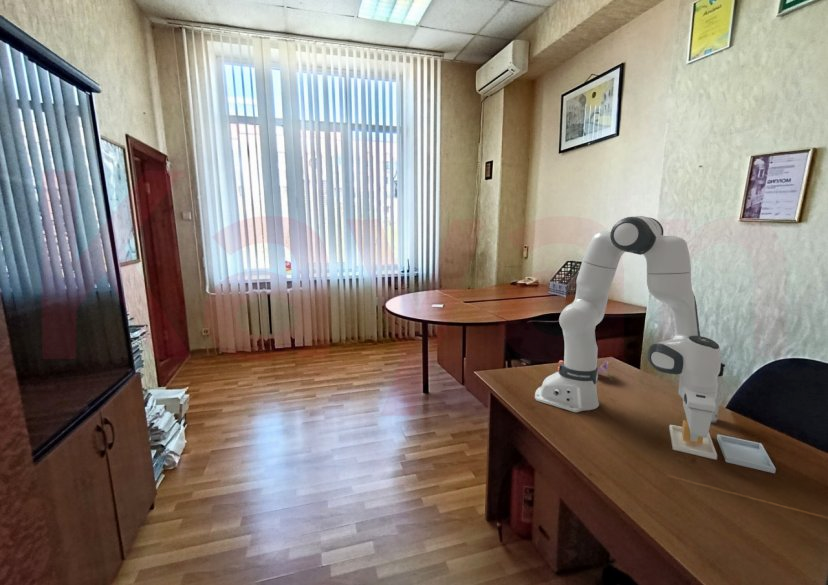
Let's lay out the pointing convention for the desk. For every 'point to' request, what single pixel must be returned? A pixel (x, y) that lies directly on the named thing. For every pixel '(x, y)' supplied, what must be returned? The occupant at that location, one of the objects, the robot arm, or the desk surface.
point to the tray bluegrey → (745, 453)
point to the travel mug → (718, 394)
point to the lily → (604, 367)
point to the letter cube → (687, 434)
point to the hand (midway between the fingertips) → (692, 435)
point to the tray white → (692, 444)
